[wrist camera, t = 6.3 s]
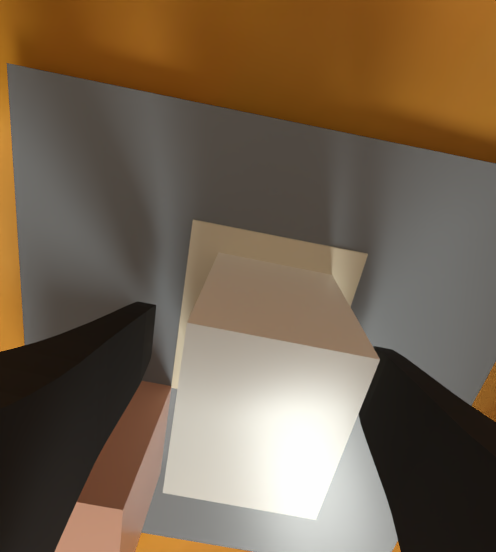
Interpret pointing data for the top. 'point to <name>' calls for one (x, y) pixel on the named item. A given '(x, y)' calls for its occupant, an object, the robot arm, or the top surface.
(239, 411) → the white brick
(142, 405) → the terracotta brick
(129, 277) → the baseplate
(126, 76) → the top surface
